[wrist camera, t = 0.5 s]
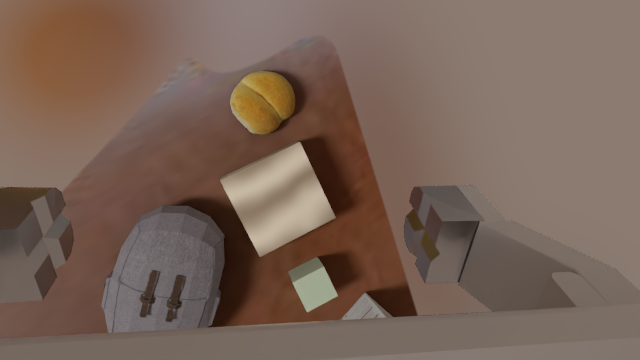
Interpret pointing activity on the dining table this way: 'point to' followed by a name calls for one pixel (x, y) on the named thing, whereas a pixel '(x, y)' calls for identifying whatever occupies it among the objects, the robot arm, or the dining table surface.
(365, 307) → the supplement box
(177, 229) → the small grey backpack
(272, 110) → the bread roll
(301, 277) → the sage cube
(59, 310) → the dining table surface
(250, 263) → the dining table surface
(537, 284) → the robot arm
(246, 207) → the wooden block
